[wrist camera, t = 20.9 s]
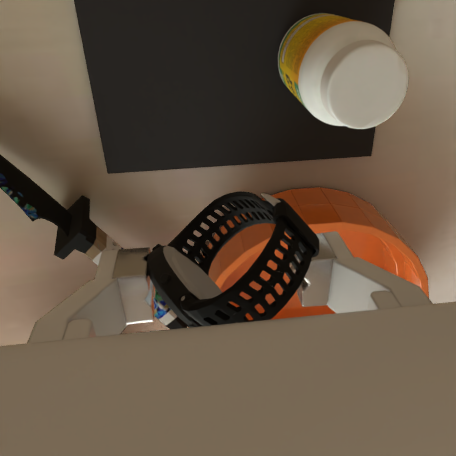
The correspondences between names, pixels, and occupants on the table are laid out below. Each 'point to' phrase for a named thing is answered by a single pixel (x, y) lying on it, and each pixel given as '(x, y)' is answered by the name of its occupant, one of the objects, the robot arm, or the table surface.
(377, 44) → the supplement bottle
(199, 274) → the smartwatch
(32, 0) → the table surface
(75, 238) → the knife
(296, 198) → the bowl
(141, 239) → the table surface
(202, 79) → the mat
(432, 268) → the table surface
